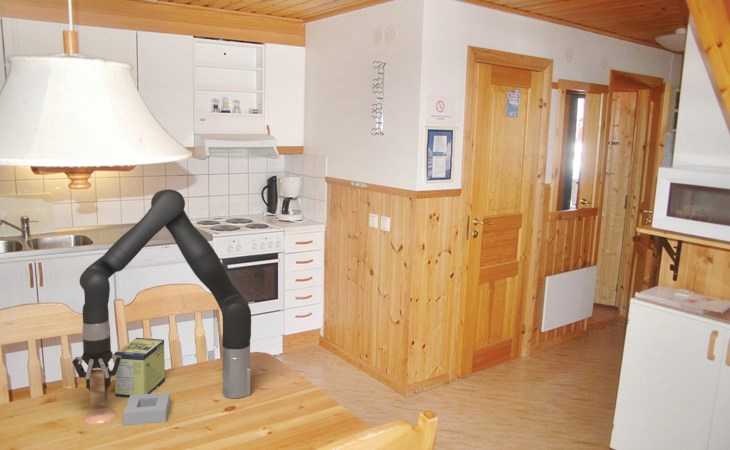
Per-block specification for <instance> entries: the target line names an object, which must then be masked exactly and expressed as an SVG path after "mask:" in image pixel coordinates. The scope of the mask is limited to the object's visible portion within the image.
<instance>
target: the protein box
mask: <svg viewBox="0 0 730 450" xmlns="http://www.w3.org/2000/svg"><path fill="white" fill-rule="evenodd" d="M113 355H117V356H118V355H121V356H122V358H121V361H120V364H119V367H118V370H117V372H116V374H115V376H114V390H115V391H114V393H115V397H116V398H117V397H118V398H128V399H129V397H130V395H139V394H152V393H153V392H154V390H156V389H157V388H158V387H160V386H161V385H162V384H163V383H165V382H166V367H165V364H166V363H165V340H164V339H160V338H146V337H144V338H143V337H142V338H141V337H136V338H134V339H133V340H131V341H130V342H128V343H127V344H125V345H124V346H122V348H120V349H118V350H117V351H115V352H114V353H113ZM114 364H115V363H114V362H113V365H114Z"/></svg>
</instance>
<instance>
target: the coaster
mask: <svg viewBox="0 0 730 450" xmlns="http://www.w3.org/2000/svg"><path fill="white" fill-rule="evenodd" d="M116 416H117V412H116V410H115V409H112V408H98V409H95V410H91V411H89V412H87V413H86V414H85V415H84V416H83V421H84V422H85V423H87V424H89V425H90V424H91V425H98V424H104V423H107V422H109V421H112V420H113V419H114V418H115V417H116Z"/></svg>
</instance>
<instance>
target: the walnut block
mask: <svg viewBox="0 0 730 450" xmlns="http://www.w3.org/2000/svg"><path fill="white" fill-rule="evenodd" d="M89 376H90V390H89V396H90V397H89V399H90V407H104V406H106V405H107V402H108V401H109V393H108V391H109V388H108V389H105V375H104V373H103V371H102V369H93V371H92V372H91V374H90V375H89Z"/></svg>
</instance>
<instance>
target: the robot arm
mask: <svg viewBox="0 0 730 450" xmlns="http://www.w3.org/2000/svg"><path fill="white" fill-rule="evenodd" d="M150 200H151V202H150V203H151V204H150V207H149V209H148V211H147V212H146V213H145V214H144V216H143V217H142V218H141V219H140V220H139V221H138V222H136V224H135V225H133V226H132V227H131V228H130V229H129V230H128V231H126V232H125V233H124V234H123V235H122V236H120V238H118V240H116V241H115V242H114V243H113V244H112V246H110V247H109V249H108V250H107V251H106V252H105V253H104V254H103V255H102V256H100V257H99V258H98V259H96V260H95V261H94V262H93V263H91V264H90V265H89V266H88V267H87V268H85V270H84V271H83V272H82V273H81V274H80V276H79V277H80V278H79V285H80V287H81V288H82V290H83V292H84V304H83V306H82V334H81V335H82V336H81V337H82V351H83V352H82V356H75V357H74V359H73V360H72V364H73V367H74V369H75V371H76V374H77V375H78V377H79V378H84V379H85V381H86V382H85V383H86V384H85V386H86V389H87V390H88V391H90V376H89V375H90V374H91V372H92V371H93V370H95V369H100V370H102V371H103V373H104V375H105V389H108V390H109V388H110V387H111V386H112V385H111V384H112V378H111V377H115V374H116V372H117V370H118V367H119V364H120V361H121V358H122V356H121V355H118V356H117V355H114V353H113V352H112V348H111V347H112V346H111V344H112V342H111V341H112V340H111V326H110V319H109V316H110V315H109V301H110V291H111V286H110V285H111V284H110V278H111V277H112V276H114V274H116V273H118V272H121V271H122V270H124V269H125V268H126V267H127V266H128V265H129V264H130V262H131V261H132V260H134V258H136V256H137V255H138V253H140V252H141V250H142V249H143V248H144V247H146V245H147V244H148V243H149V242H150V241H151V239H153V237H155V236H156V234H158V233H159V232H160V231H161V230H162V229H163V228H166V230H167V231H168V232H169V234H170V235H171V236H172V238H173V239H174V241H175V244H176V245H177V247H178V250H179V251H180V253H181V254H182V256H183V258H184V260H185V261H186V263H187V265H188V266H189V268H190V269H191V270H192V272H193V274H194V275H195V276H196V277H197V279H198V280H199V281H200V282H201V283H202V284H203V285H204V286H205V287H206V288H207V289H208V290H209V291H210V293H211V294H212V296H213V297H214V300H215V301H216V303H217V305H218V307H219V309H220V312H221V315H222V339H221V341H222V345H221V347H222V349H221V351H222V353H221V354H222V355H221V356H222V357H221V358H222V362H221V364H222V366H221V367H222V370H221V371H222V395H223V397H226V398H228V399H240V398H245V397H248V396H251V339H252V338H251V337H252V311H251V308H250V305H249V304H248V301H247V300H246V299H245V298H244V297H243V295H242V294H241V293H240V291H239V290H238V289H237V288H236V286H235V285H234V283H232V281H231V280H230V277H229V275H228V273H227V271H226V268H225V266H224V265H223V263H222V261H221V259H220V257H219V256H218V254H217V252H216V251H215V249H214V248H213V246H212V244H211V243H210V242H209V241H208V240H207V239H206V237H204V235H203V234H202V233H201V232H200V231H199V230H198V229H197V228H196V227H195V226H194V224H193V223H192V222H191V220H190V218H189V216H188V214H187V213H186V211H185V207H186V200H185V198H184V196H183V194H181V193H180V192H179V191H177V190H175V189H170V188H168V189H163V190H159V191H156V192H155V193H154V194H153V196H152V198H151V199H150ZM111 359H112V363H113V367H112V370H110V364H109V362H110V361H111ZM83 362H84V364H86V365H87V368H86V371H85V369H84V366H83V364H82V363H83ZM114 363H115V364H114Z"/></svg>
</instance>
